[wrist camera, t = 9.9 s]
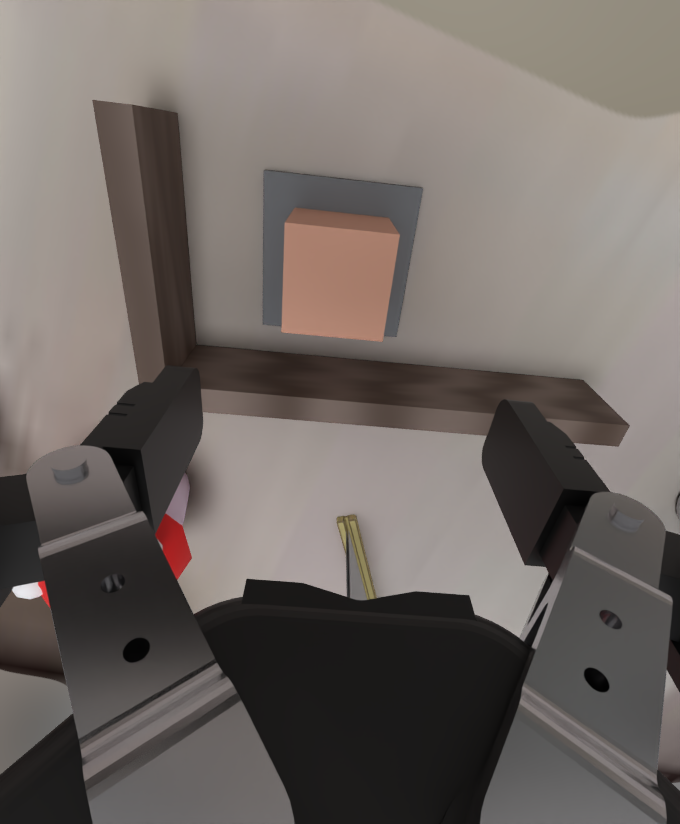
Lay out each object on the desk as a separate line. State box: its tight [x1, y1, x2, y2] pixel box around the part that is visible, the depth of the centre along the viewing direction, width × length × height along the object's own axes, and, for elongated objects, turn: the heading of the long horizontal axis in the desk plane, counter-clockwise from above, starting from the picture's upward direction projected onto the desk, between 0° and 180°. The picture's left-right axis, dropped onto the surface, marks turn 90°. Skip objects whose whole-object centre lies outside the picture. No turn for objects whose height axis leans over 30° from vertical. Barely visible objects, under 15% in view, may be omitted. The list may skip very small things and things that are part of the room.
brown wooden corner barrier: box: [93, 100, 630, 446], centre depth 25 cm, size 30×15×6 cm, turn 84°
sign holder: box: [337, 515, 376, 600], centre depth 40 cm, size 21×2×10 cm, turn 11°
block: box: [281, 208, 400, 342], centre depth 24 cm, size 6×6×6 cm
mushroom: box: [12, 473, 192, 609], centre depth 32 cm, size 11×11×12 cm
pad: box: [263, 170, 423, 337], centre depth 27 cm, size 9×9×1 cm
